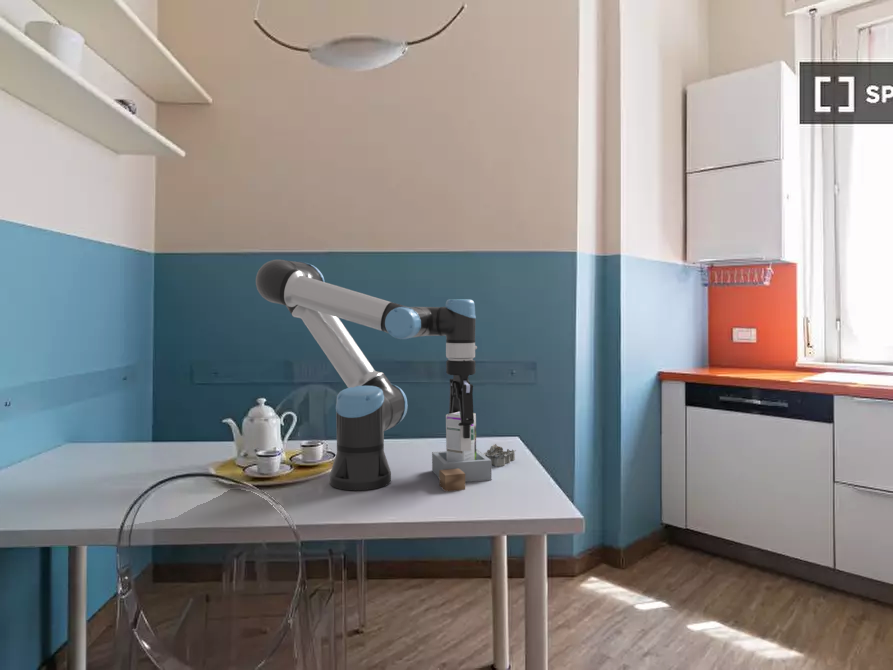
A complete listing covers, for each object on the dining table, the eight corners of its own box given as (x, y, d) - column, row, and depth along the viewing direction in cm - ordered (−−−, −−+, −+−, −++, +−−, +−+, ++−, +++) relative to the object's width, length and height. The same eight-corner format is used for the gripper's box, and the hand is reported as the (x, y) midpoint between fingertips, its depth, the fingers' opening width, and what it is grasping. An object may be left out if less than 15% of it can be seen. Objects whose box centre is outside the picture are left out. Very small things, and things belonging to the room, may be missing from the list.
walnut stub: (445, 491, 151) (445, 475, 151) (439, 486, 156) (439, 469, 156) (465, 490, 153) (465, 473, 152) (458, 484, 157) (458, 468, 157)
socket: (443, 483, 158) (443, 463, 157) (432, 470, 170) (432, 452, 169) (491, 479, 161) (491, 460, 160) (477, 467, 173) (477, 449, 173)
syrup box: (464, 472, 161) (464, 415, 160) (445, 468, 165) (445, 413, 164) (476, 467, 166) (476, 412, 165) (458, 464, 169) (458, 410, 168)
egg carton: (495, 457, 186) (495, 443, 186) (519, 460, 182) (519, 446, 182) (477, 464, 177) (477, 450, 177) (501, 468, 173) (501, 453, 173)
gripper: (486, 362, 155) (487, 455, 156) (464, 355, 175) (464, 438, 176) (457, 363, 153) (457, 457, 154) (437, 356, 173) (437, 439, 174)
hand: (461, 446), depth 165 cm, fingers closed on syrup box, 8 cm apart
